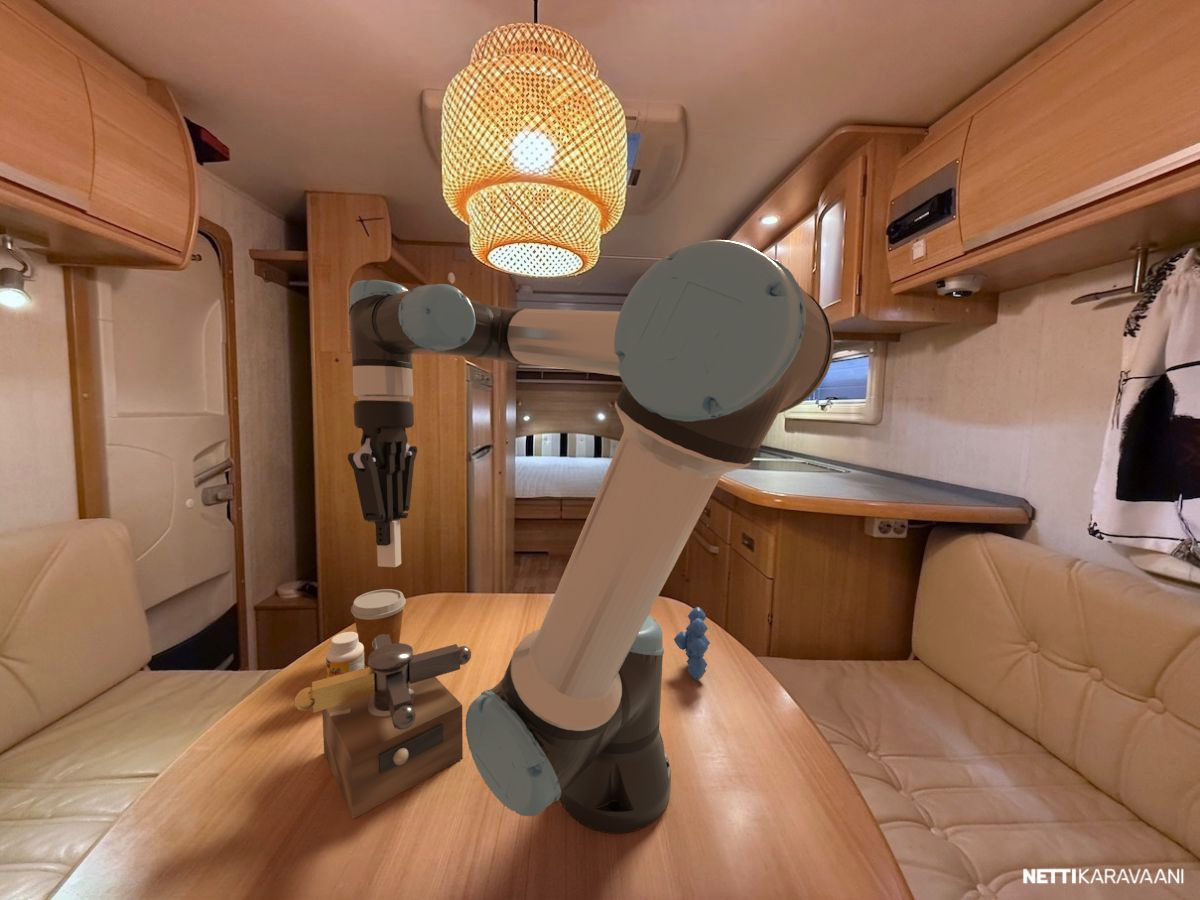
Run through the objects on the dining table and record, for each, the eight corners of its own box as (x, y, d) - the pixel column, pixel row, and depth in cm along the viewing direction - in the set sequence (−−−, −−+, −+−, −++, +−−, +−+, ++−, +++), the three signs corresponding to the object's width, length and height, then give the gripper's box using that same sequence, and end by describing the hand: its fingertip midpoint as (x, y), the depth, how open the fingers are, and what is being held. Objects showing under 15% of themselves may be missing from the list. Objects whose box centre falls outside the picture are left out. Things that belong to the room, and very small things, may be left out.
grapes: (672, 652, 92) (674, 595, 91) (705, 655, 91) (708, 598, 90) (672, 687, 81) (675, 623, 80) (711, 691, 80) (714, 626, 79)
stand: (467, 764, 62) (467, 708, 62) (355, 829, 53) (353, 763, 52) (421, 707, 74) (420, 659, 73) (322, 752, 64) (319, 697, 63)
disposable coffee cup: (392, 672, 83) (391, 610, 82) (341, 670, 83) (339, 608, 82) (415, 645, 93) (414, 588, 91) (369, 643, 93) (367, 587, 92)
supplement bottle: (320, 697, 76) (318, 639, 75) (352, 680, 80) (350, 625, 79) (340, 709, 73) (337, 649, 72) (372, 691, 78) (370, 634, 77)
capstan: (451, 643, 78) (451, 605, 78) (496, 719, 60) (496, 670, 59) (297, 683, 66) (295, 639, 65) (293, 794, 48) (291, 734, 47)
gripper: (386, 400, 70) (391, 549, 72) (325, 398, 57) (333, 580, 59) (432, 400, 69) (436, 552, 71) (381, 398, 56) (387, 583, 58)
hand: (389, 564), depth 65 cm, fingers closed
